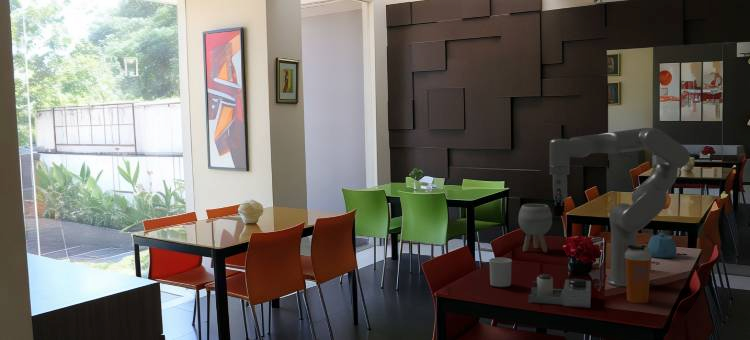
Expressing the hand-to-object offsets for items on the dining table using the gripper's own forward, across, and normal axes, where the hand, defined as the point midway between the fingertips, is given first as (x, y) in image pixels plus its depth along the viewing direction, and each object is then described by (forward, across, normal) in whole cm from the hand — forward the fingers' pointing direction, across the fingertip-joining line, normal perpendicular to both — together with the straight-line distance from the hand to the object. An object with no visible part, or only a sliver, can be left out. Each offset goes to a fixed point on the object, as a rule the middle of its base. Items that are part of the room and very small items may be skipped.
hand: (559, 213), depth 258 cm
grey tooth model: (+28, +61, +15) cm, 69 cm away
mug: (+28, -6, +22) cm, 36 cm away
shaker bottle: (+28, -16, -28) cm, 43 cm away
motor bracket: (+28, -21, -1) cm, 35 cm away
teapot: (+29, +60, -42) cm, 79 cm away
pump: (+28, -22, +4) cm, 36 cm away
